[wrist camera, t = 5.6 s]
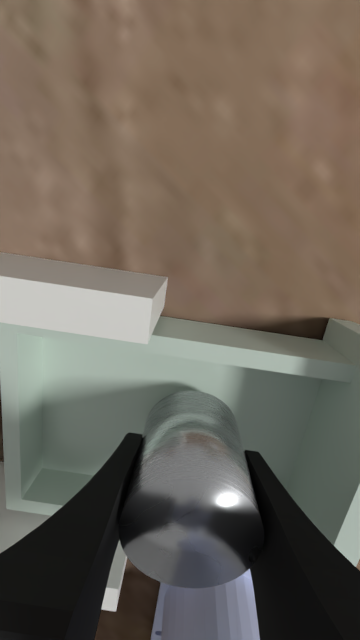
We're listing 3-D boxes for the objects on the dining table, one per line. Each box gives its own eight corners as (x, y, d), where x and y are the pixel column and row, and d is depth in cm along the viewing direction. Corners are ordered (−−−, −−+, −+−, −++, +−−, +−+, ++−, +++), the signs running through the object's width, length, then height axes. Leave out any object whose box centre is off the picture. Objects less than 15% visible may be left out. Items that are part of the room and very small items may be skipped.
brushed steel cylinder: (225, 477, 14) (243, 599, 9) (138, 460, 14) (110, 574, 9) (248, 400, 13) (282, 494, 8) (152, 382, 13) (128, 465, 8)
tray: (334, 523, 17) (393, 638, 12) (38, 478, 17) (-26, 575, 12) (412, 330, 14) (541, 381, 8) (37, 274, 14) (-54, 292, 9)
